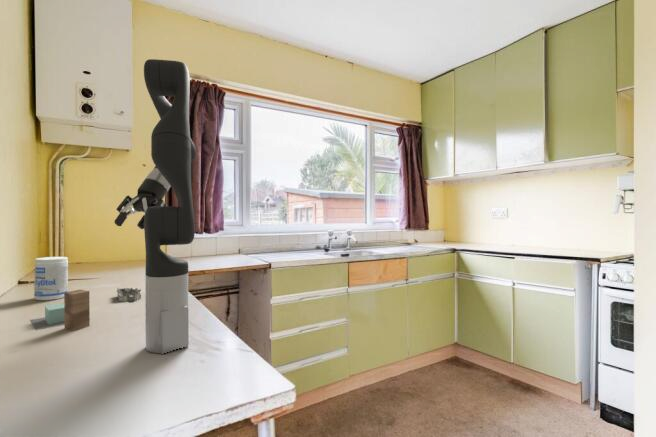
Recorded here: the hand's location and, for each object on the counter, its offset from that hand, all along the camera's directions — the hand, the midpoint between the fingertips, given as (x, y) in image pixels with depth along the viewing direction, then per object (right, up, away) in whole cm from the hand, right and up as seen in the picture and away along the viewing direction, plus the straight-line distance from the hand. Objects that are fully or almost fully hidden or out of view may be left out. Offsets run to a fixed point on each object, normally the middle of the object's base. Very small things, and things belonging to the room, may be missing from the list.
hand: (128, 226), depth 101 cm
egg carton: (-14, -28, +23) cm, 39 cm away
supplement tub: (-42, -27, +23) cm, 55 cm away
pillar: (-9, -28, -9) cm, 30 cm away
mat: (-18, -27, -3) cm, 33 cm away
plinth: (-18, -27, -3) cm, 33 cm away
